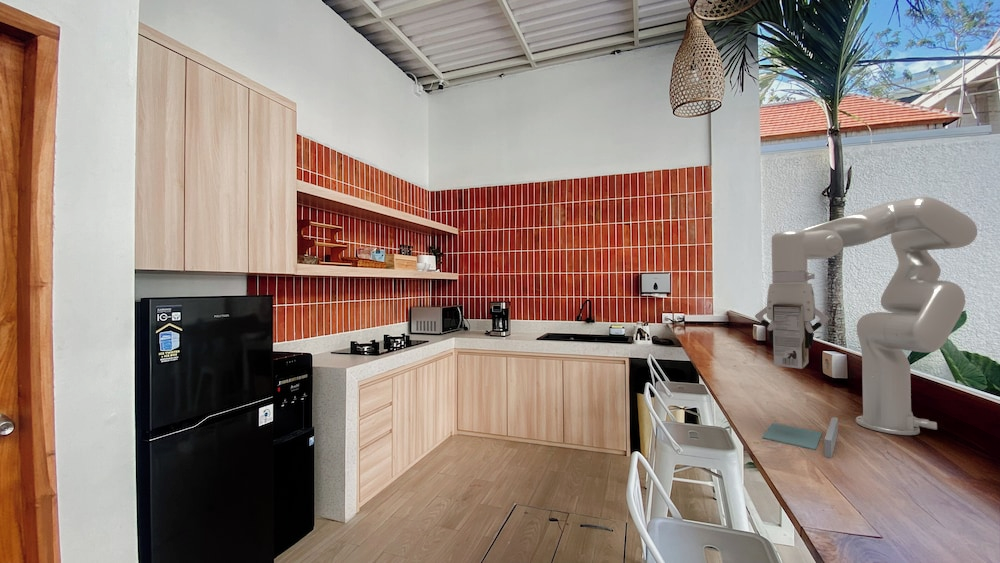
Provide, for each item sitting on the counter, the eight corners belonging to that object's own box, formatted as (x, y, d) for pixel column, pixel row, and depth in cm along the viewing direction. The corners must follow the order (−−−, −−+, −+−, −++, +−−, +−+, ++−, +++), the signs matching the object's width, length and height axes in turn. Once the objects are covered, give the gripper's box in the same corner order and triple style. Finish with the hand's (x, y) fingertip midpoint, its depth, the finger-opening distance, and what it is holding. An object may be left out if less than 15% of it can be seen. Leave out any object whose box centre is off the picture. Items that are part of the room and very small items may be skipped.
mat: (821, 433, 105) (821, 432, 105) (815, 450, 95) (815, 448, 95) (772, 423, 113) (772, 422, 113) (762, 438, 103) (762, 437, 103)
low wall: (838, 433, 106) (837, 418, 106) (831, 458, 91) (831, 440, 91) (832, 432, 106) (831, 417, 106) (824, 456, 92) (824, 439, 92)
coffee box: (780, 360, 110) (779, 302, 110) (809, 363, 105) (808, 302, 105) (772, 365, 103) (771, 303, 103) (803, 369, 99) (802, 304, 99)
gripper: (833, 277, 101) (834, 347, 101) (754, 279, 113) (755, 341, 113) (831, 278, 96) (832, 352, 96) (748, 279, 108) (749, 345, 108)
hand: (790, 345), depth 104 cm, fingers closed on coffee box, 6 cm apart
